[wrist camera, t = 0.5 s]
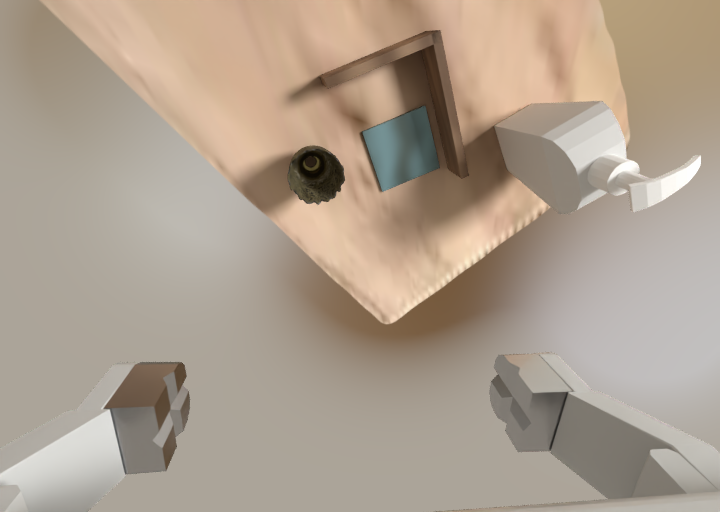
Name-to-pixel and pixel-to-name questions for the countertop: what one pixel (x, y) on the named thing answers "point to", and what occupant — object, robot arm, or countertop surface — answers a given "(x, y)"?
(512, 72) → the countertop surface
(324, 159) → the cup
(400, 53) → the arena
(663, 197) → the soap bottle
